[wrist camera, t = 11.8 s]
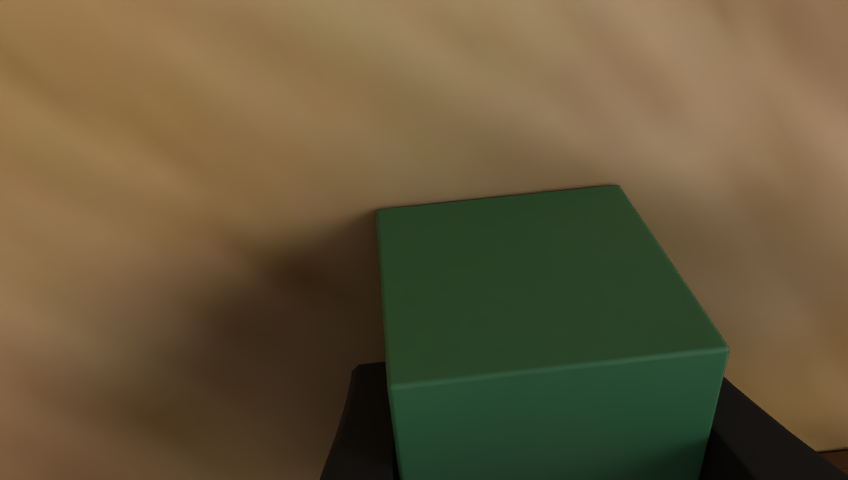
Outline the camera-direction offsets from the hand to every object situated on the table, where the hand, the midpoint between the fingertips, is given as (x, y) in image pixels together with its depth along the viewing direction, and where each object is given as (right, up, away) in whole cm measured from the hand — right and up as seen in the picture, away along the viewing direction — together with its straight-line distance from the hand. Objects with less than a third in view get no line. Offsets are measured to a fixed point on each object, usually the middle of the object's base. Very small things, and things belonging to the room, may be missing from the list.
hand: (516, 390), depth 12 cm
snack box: (0, +1, +1) cm, 1 cm away
